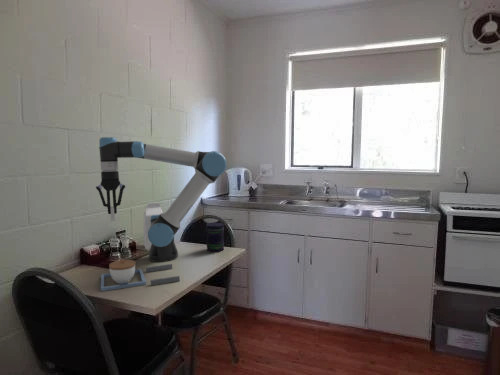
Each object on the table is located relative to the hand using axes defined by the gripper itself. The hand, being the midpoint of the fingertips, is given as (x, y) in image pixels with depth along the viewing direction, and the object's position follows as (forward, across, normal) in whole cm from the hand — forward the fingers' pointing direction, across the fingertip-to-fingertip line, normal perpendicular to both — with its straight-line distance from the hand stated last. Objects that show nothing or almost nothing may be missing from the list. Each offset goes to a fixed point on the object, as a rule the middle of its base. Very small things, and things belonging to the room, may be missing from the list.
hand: (112, 220), depth 160 cm
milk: (+24, +25, +32) cm, 47 cm away
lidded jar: (+24, +1, -18) cm, 30 cm away
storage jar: (+24, +54, +7) cm, 59 cm away
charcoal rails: (+24, +18, -20) cm, 36 cm away
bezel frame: (+24, +1, -18) cm, 30 cm away
